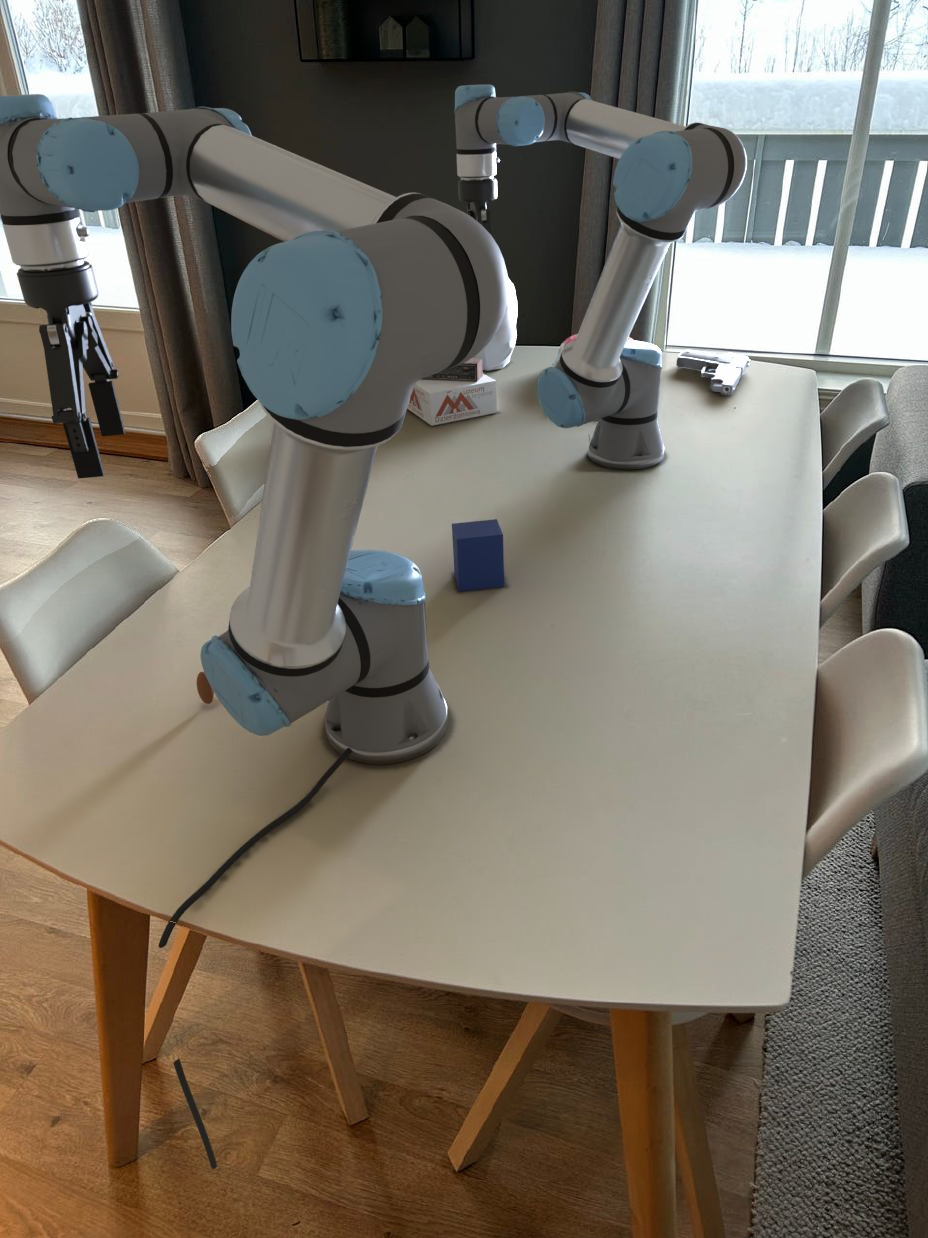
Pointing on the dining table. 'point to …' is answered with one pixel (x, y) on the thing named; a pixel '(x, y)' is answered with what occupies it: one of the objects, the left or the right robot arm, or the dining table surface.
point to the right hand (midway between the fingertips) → (480, 292)
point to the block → (478, 555)
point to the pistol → (716, 368)
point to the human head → (502, 337)
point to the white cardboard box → (454, 394)
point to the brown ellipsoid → (204, 688)
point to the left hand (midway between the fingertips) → (103, 454)
